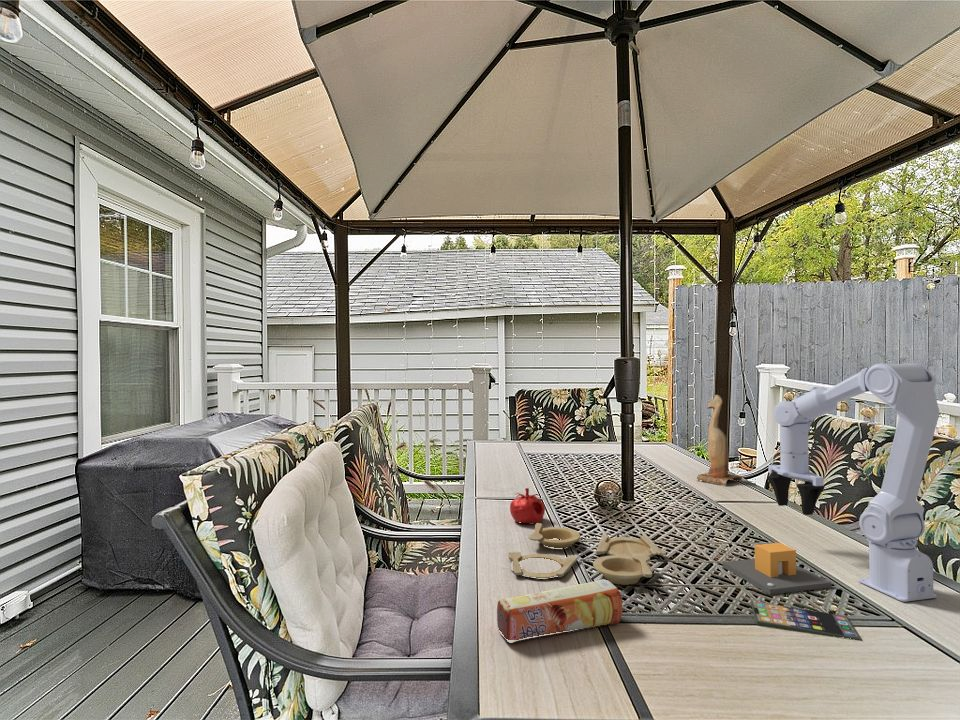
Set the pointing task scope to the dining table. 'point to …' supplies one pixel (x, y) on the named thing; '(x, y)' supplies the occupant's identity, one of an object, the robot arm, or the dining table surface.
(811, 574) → the plate
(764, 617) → the smartphone
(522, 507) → the pomegranate
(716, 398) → the bird sculpture
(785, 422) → the robot arm
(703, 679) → the dining table surface
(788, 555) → the orange block
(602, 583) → the snack package
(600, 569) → the tableware set
